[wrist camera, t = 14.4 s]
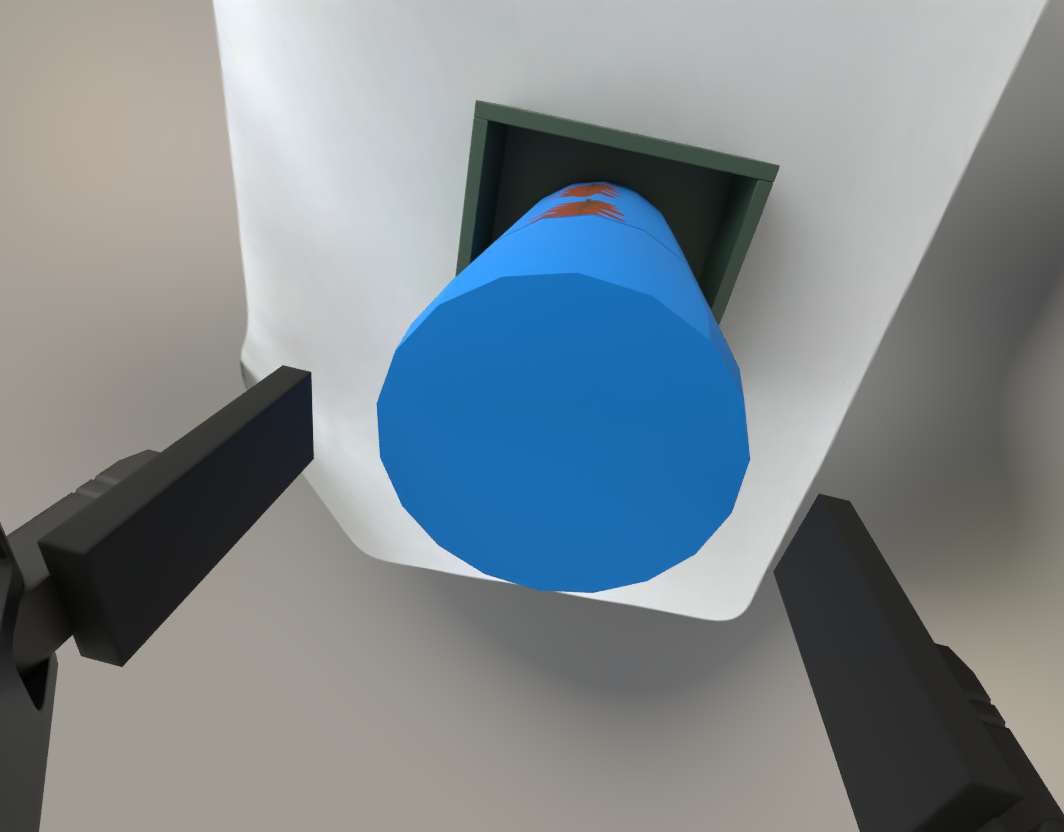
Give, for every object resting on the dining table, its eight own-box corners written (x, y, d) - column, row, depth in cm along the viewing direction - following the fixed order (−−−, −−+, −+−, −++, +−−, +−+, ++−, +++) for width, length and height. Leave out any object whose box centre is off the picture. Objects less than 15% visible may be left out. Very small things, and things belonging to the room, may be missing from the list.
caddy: (501, 104, 34) (475, 99, 28) (752, 158, 33) (780, 165, 27) (469, 338, 42) (444, 373, 36) (671, 386, 41) (679, 429, 35)
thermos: (656, 346, 39) (700, 623, 17) (512, 326, 40) (381, 567, 18) (690, 185, 34) (817, 292, 12) (523, 167, 35) (357, 236, 13)
